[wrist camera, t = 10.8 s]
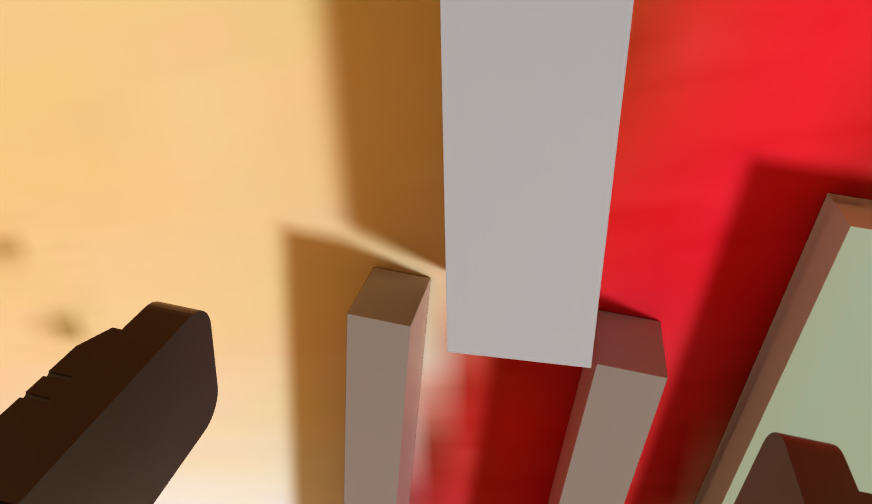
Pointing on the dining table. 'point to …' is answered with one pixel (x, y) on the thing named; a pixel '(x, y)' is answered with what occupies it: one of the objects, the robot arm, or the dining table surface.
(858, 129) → the dining table surface
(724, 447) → the tray
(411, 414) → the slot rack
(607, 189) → the tall grey bar
